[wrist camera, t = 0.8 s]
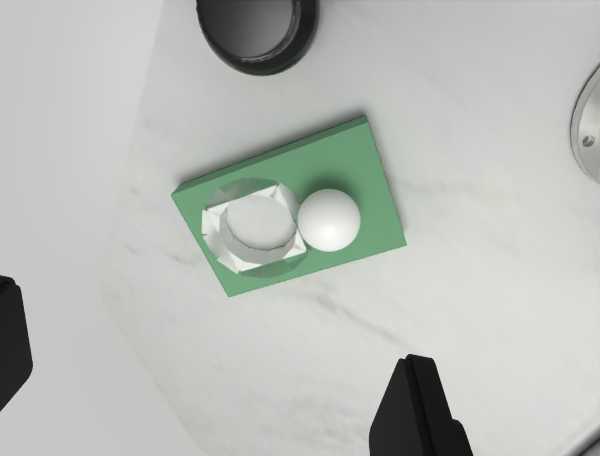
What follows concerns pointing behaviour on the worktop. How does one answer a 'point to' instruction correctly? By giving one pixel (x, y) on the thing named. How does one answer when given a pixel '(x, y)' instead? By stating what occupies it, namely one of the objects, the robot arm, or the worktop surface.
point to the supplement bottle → (260, 32)
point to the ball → (329, 220)
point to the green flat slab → (293, 206)
